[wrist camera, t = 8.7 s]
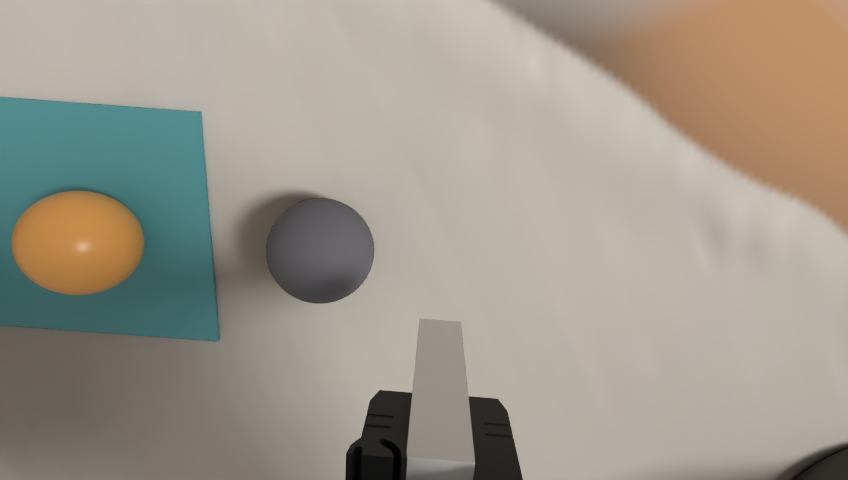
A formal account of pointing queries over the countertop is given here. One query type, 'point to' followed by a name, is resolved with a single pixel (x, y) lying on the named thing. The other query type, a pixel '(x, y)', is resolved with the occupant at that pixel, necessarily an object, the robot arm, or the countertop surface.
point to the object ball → (77, 242)
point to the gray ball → (320, 250)
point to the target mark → (130, 185)
